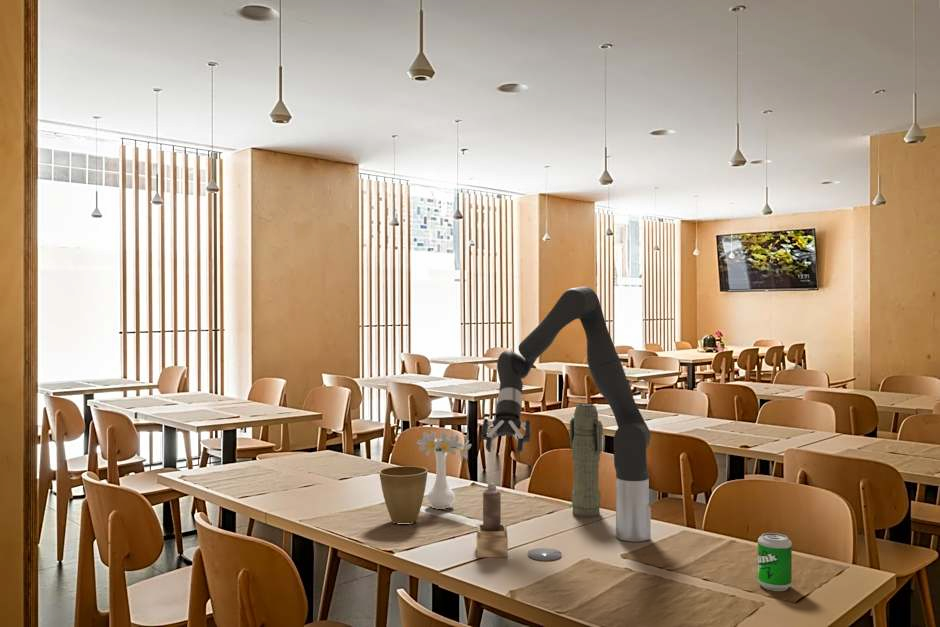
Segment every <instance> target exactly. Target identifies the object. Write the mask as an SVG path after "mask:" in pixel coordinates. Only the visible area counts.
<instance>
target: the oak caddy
mask: <svg viewBox="0 0 940 627" xmlns="http://www.w3.org/2000/svg"><path fill="white" fill-rule="evenodd" d="M508 541H509V538H508V529H507V525H506V523H501V531H483V523H477V524H476V552H477V553H476V554H477V558H508V556H509V555H508V554H509V551H508V550H509V548H508V546H509V545H508V544H509V542H508Z"/></svg>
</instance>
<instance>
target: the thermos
mask: <svg viewBox="0 0 940 627" xmlns="http://www.w3.org/2000/svg"><path fill="white" fill-rule="evenodd" d="M603 430H604V425H603V423H602V421H601V420H599V413H598V410H597V407H596V405H594V404H593V403H579V404H578V405H576V407H575V410H574V413H573V417H572V418H571V419H570V421H569V445H570V448H569V449H570V450H571V455H572V457H571V459H572V461H573V488H572V491H571V506H572V514H573V515H574V516H577V517H580V518H581V517H582V518H593V517H594V518H595V517H599V516H600V514H601V512H600V508H601V493H600V489H599V462H600V460H601V453H602V452H603V451H604V450H603V432H604V431H603Z"/></svg>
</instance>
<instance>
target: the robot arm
mask: <svg viewBox="0 0 940 627" xmlns="http://www.w3.org/2000/svg"><path fill="white" fill-rule="evenodd" d="M600 302H601V301H600V299H599V297H598V294H597V293H596V291H595V290H593V289H592V288H591V287H589V286H578V287H572V288H568V289H566V291H564V292H563V293H562V294H561V296H560V297H559V299H558V300H557V302H556V303H555V304H554V306H552V309H551V310H550V311H549V312H548V314H547V315H546V316H545V317H544V319H543V320H542V321H541V322H540V323H539V324H538V325H537V326H536V327H535V328H533V330H532V331H531V332H530V333H529V334H528V335H527V336H526V337H525V338H524V339H523V340H522V341H521V342H520V343H519V345H518V351H519V353H520V355H519V354H518V353H516V352H514V351H512V350H509V349H507V350H504V351H502V352H501V353H500V354H499V355H498V358H497V362H496V369H497V370H496V371H497V374H498V379H499V383H500V384H499V390H498V396H497V401H496V405H495V406H496V407H495V415H494V420H488V418H484V419H483V423H482V427H481V433H480V435H481V439H482V441H485V450H486V451H487V452H488V453H491V452H492V446H493V440H494V439H497V438H498V437H499V436H502V437H503V436H504V437H505V436H507V437H512V436H513V437H514V438H515V439H516V440H517V448H516V453H517V454H518V455H519V454H521V452H523V450H524V444H525V442H527V443H529V442H530V441H531V421H530V420H529V419H528V420H526V421H524V422H523V421H521V415H522V414H521V413H522V408H523V405H522V404H523V397H522V396H523V388H524V387H523V386H524V384H523V381H522V379H525V378H526V377H527V376H528V375H529V373H530V371H531V370H532V367H533V366H534V364H535V362H536V361H537V359H538V358H539V357H540V356H542V354H543V353H544V352H545V351H546V350H548V349H549V347H550V346H551V345H552V343H553V342H554V341H555V339H556V337H557V336H558V334H559V333H560V332H561V331H562V329H563V328H565V327H566V326H567V325H569V324H571V323H572V322H573V321H575V320H579V322H580V323H581V325H582V327H583V330H584V332H585V337H586V359H587V365H588V369H589V372H590V374H591V377H592V379H593V381H594V384H595V386H596V388H597V390H598V391H599V393H600V394H601V395H602V397H603V399H604V400H605V401H606V402H607V404H608V405H609V407H610V409H611V411H612V413H613V416H614V418H615V423H616V425H617V429H616V430H615V432H614V436H613V461H614V462H613V464H614V470H615V487H616V488H615V537H616V538H617V539H619V540H622V541H625V542H633V543H634V542H635V543H636V542H637V543H639V542H644V541H649V540H650V541H651V539H652V538H651V537H652V536H651V534H652V532H651V531H652V530H651V529H652V528H651V527H652V526H651V525H652V524H651V522H652V521H651V520H652V518H651V517H652V516H651V514H652V513H651V512H652V511H651V510H652V508H651V506H650V503H649V501H650V500H649V495H650V494H649V490H650V488H649V478H650V477H649V476H650V474H649V473H650V472H649V471H650V470H649V468H648V465H647V448H648V447H649V445H650V443H651V438H652V436H651V432H650V429H649V427H648V425H647V422H646V421H645V419H644V417H643V415H642V414H641V411H640V410H639V407H638V406H637V404H636V402H635V399H634V395H633V393H632V388H631V387H630V384H629V381H628V378H627V375H626V373H625V372H626V371H625V369H624V366H623V364H622V361H621V359H620V357H619V354H618V352H617V350H616V348H615V345H614V342H613V340H612V337H611V334H610V332H609V329H608V326H607V324H606V320H605V317H604V313H603V309H602V305H601V303H600ZM491 427H493V428H491ZM490 428H491V431H490V432H489V433H488V430H489V429H490ZM521 428H523V430H524V431H525V435H523V434H522V433H521V431H520V429H521Z"/></svg>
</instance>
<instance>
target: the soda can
mask: <svg viewBox="0 0 940 627" xmlns="http://www.w3.org/2000/svg"><path fill="white" fill-rule="evenodd" d="M792 545H793V542H792V541H791V540H790V539H789V538H788V536H787V535H784V534H781V533H774V532H765V533H762V534H761V536H759V537H758V539H757V581H758V583H759V585H761V587H762V588H764V589H766V590H768V591H773V592H784V591H787V590H788V589H789V588H790V587H791V586H792V580H793V579H792V576H793V575H792V574H793V573H792V571H793V570H792V563H793V562H792V561H793V559H792V556H793V554H792V550H793V549H792V548H793V546H792Z"/></svg>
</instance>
